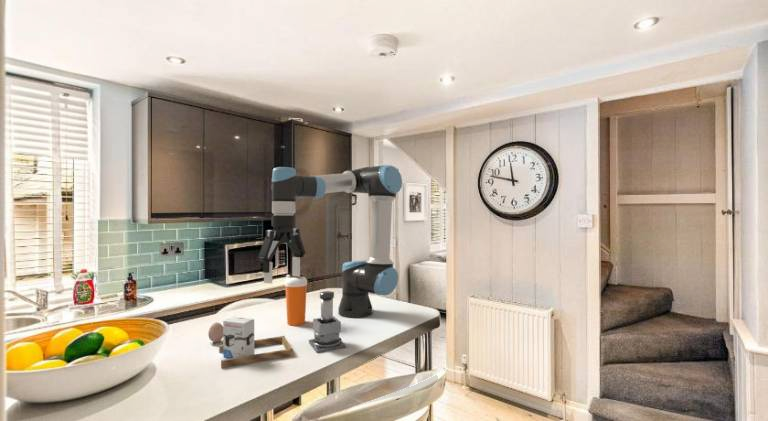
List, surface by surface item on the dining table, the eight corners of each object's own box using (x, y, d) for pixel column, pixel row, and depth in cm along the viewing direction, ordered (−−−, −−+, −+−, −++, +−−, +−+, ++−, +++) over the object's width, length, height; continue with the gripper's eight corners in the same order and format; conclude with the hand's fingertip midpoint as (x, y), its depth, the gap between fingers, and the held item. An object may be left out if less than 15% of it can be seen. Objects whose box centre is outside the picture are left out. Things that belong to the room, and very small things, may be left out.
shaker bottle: (302, 327, 149) (301, 276, 149) (280, 325, 151) (280, 275, 151) (310, 320, 158) (310, 272, 158) (290, 319, 160) (290, 271, 160)
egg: (216, 345, 130) (216, 325, 130) (205, 343, 132) (204, 323, 132) (227, 340, 135) (227, 321, 135) (216, 338, 137) (216, 319, 137)
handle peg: (331, 327, 133) (331, 290, 133) (335, 331, 129) (335, 293, 129) (318, 329, 131) (318, 292, 131) (322, 333, 127) (322, 295, 127)
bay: (284, 341, 134) (284, 335, 134) (292, 355, 121) (292, 349, 121) (219, 351, 125) (219, 345, 125) (221, 367, 112) (221, 361, 112)
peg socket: (336, 338, 137) (336, 314, 137) (345, 347, 128) (345, 322, 128) (308, 342, 132) (308, 318, 132) (316, 352, 123) (316, 326, 123)
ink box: (222, 357, 120) (222, 320, 120) (233, 351, 125) (233, 316, 124) (244, 361, 117) (244, 323, 117) (255, 355, 122) (254, 318, 121)
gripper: (298, 214, 137) (297, 273, 137) (246, 214, 115) (245, 284, 115) (315, 214, 134) (314, 274, 134) (265, 215, 112) (264, 287, 112)
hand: (282, 279), depth 124 cm, fingers open, 13 cm apart
